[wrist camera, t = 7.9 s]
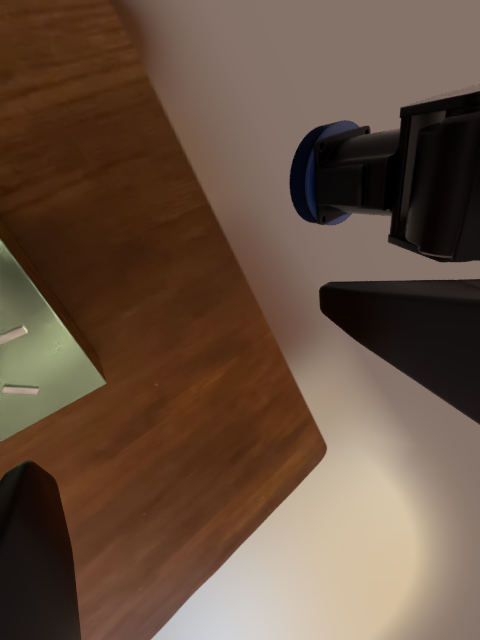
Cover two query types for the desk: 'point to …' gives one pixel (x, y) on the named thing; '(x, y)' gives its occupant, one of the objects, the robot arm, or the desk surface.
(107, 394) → the desk surface
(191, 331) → the desk surface
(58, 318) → the dial panel
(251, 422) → the desk surface
